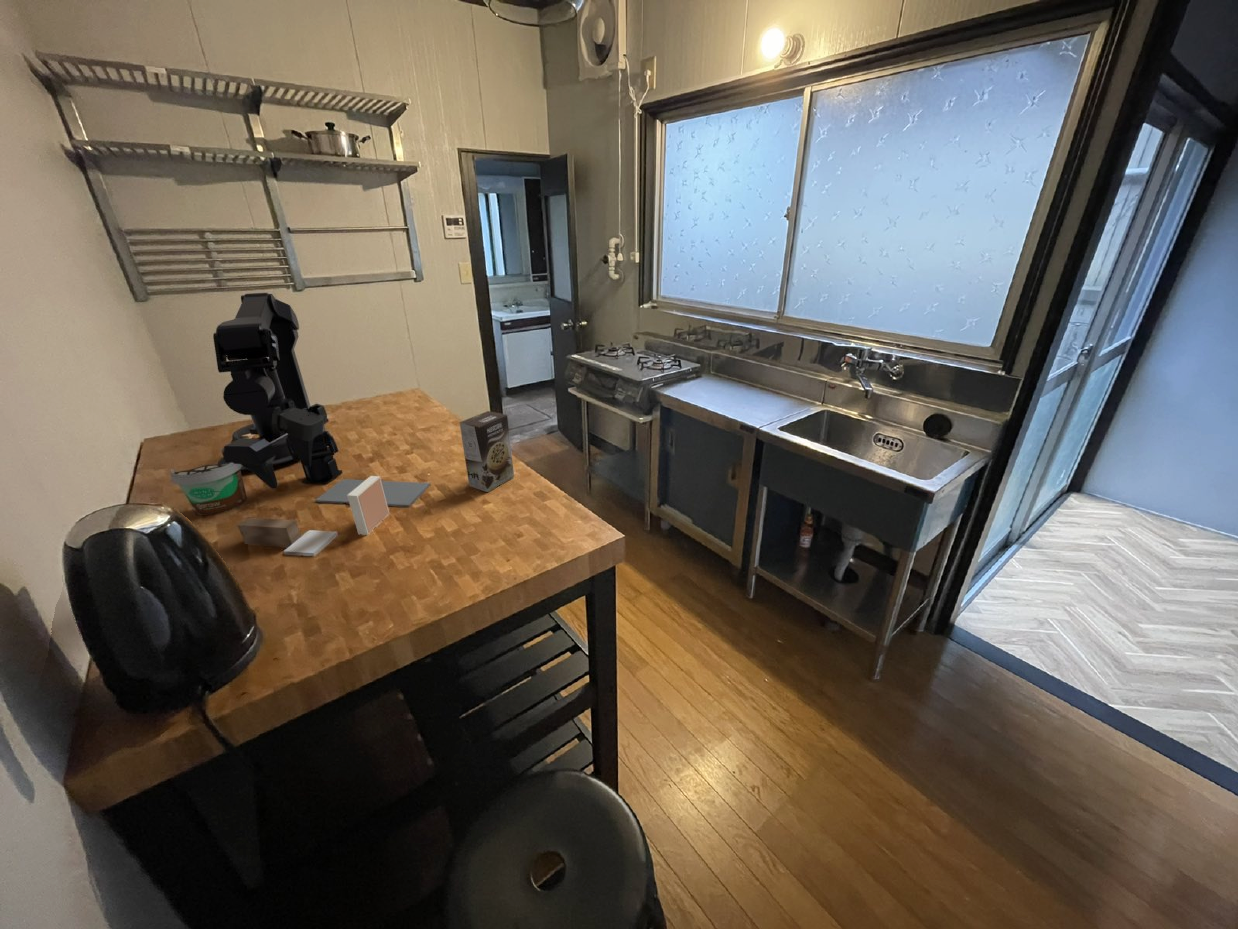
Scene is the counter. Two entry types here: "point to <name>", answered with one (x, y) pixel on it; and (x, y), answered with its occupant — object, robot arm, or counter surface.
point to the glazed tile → (368, 505)
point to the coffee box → (487, 450)
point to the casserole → (278, 446)
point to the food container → (212, 487)
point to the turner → (284, 536)
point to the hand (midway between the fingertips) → (292, 476)
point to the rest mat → (393, 490)
